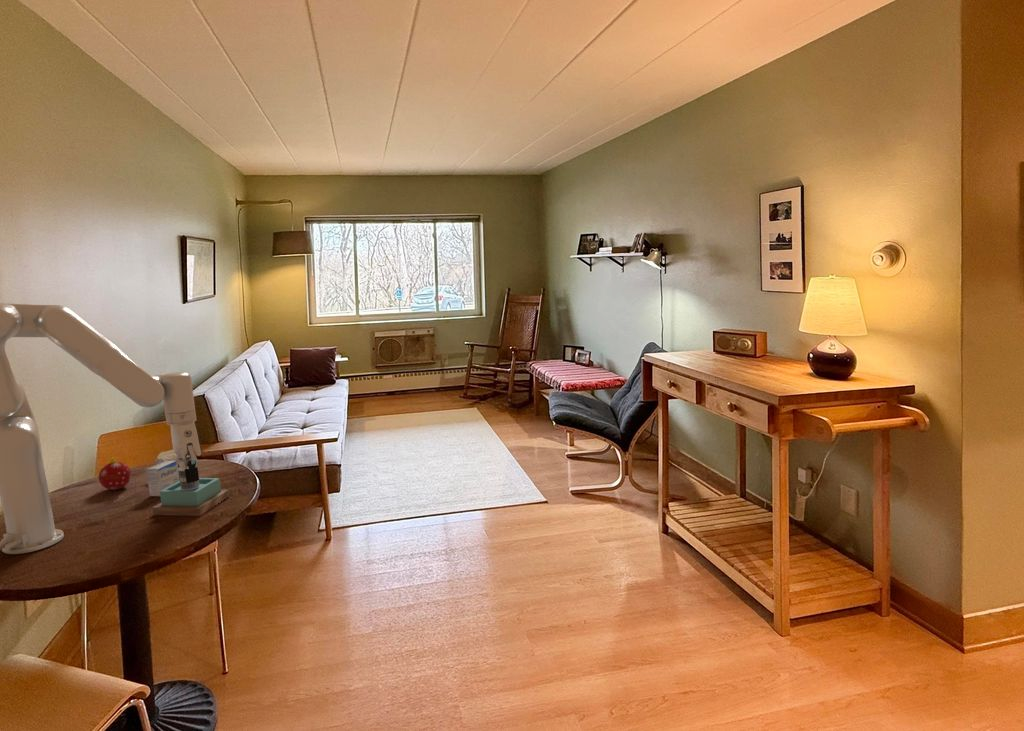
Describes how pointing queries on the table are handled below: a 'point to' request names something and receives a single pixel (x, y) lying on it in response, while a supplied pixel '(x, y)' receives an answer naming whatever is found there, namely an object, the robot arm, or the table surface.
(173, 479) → the medicine box
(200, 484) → the teal tray
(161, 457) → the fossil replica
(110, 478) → the christmas ornament
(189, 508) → the walnut slab
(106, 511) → the table surface
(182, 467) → the pill bottle
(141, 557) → the table surface
